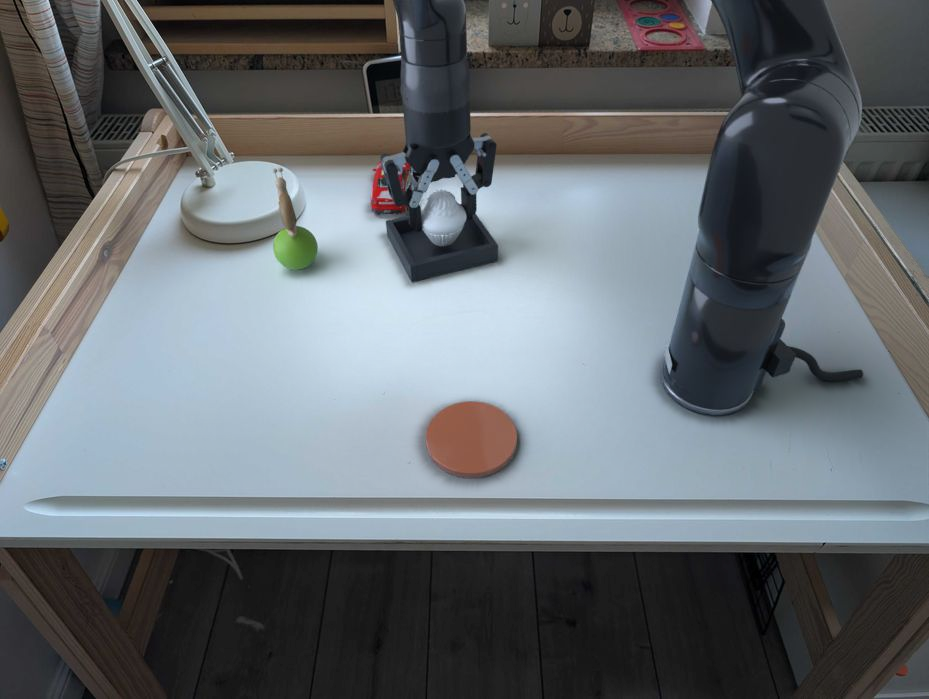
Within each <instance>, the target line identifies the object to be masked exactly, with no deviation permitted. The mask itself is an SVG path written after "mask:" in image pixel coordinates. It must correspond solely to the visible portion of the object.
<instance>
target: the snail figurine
mask: <svg viewBox="0 0 929 699" xmlns="http://www.w3.org/2000/svg"><path fill="white" fill-rule="evenodd" d="M283 171H284V169H283V167H278V168H273V169H272V173H274V175H275V178H276V180H275V181H274V183H275V187H276V189H277V196H278V210H279V214H280V218H281V222H282V224H283V226H284V228H283V229H281V230H280V231H279V232H278V233H277V234H276V236H275V237H274V240H273V245H272V250H273V254H274V256H275V259H276V260H277V262H278V263H279V264H280V265H282V266H283V267H285V268H287V269H289V270H294V271H295V270H296V271H297V270H303V269H305V268H307V267H309V266H310V265H312V264H313V262H314V261H315V260H316V257H317V255H318V251H319V246H318V245H319V244H318V242H317V239H316V237H315V235H314V234H313V233H312V232H311V231H310V230H309V229H308V228H306V227H304V226H300V225H297V222H298V219H297V216H296V213H295V212H296V211H295V209H294V206H293V202H292V198H291V196H290V194H289V192H288V189H287V182H286V180H285V179H284V178H283V174H282V172H283ZM278 172H279V173H280V175H281V176H279V177H278V176H277V173H278Z"/></svg>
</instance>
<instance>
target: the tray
mask: <svg viewBox="0 0 929 699" xmlns="http://www.w3.org/2000/svg"><path fill="white" fill-rule="evenodd" d="M459 204H460V205H461V203H459ZM385 229H386V237H387V239H388V240H389V242H390V244H391V246H392V249H393V250H394V252H395V254H396V255H397V257H398V259H399V262H400V263H401V266H402V267H403V269H404V271H405V272H406V275H407V276H408V278H409V280H410V282H411V283H417V282H420V281H424V280H428V279H432V278H436V277H439V276H444V275H448V274H452V273H455V272H459V271H464V270H468V269H472V268H476V267H479V266H480V267H481V266H483V265H488V264H492V263H497V262H498V261H499V244H498V243H497V241H496V240H495V239H494V238H493V236H492V234H491V233H490V231H489V230H488V229H487V227H486V226H485V224H484V223H483V222H482V221H481V219H480V218H479V215H477V212H476V213H475V214H473V219H470V220H466V221H465V223H464V226H463V229H462V231H461V232H460V234H459V236H458V237H457V239H456V241H455V242H454V243H453V244H451V245H448V246H437V245H435V244H433V243H432V242H431V240H430V239H429V238H428V236H427V235H426V234H425V232H424V231H423V229H422V231H419V232H416V230H415V229H414V228H413V229H412V227H411V226H410V224H409V222H408V221H407V215H405V216H399V217H396V218H392V219H387V220H385Z"/></svg>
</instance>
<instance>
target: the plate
mask: <svg viewBox="0 0 929 699" xmlns="http://www.w3.org/2000/svg"><path fill="white" fill-rule="evenodd" d="M517 445H518V431H517V429H516V425H515V424H514V422H513V420H512V419H511V418H510V416H509V415H508V414H507V413H506V412H504V411H503V410H502V409H501V408H499V407H497V406H495V405H493V404H490V403H486V402H483V401H475V400H474V401H461V402H456V403H453V404H450V405H448V406H446V407H445V408H443V409H441V410H440V411H438V412H437V413H435V415H434V416H433V417H432V419H431V420H430V421H429V423H428V425H427V428H426V432H425V447H426V451H427V454H428V455H429V458H430V459H431V461H432V462H433V463H434V464H435V465H436V466H437V467H438V468H440V469H441V470H442V471H444V472H445V473H447V474H449V475H453V476H456V477H460V478H466V479H467V478H469V479H476V478H484V477H487V476H490V475H493V474H495V473H497V472H498V471H500V470H502V469H503V468H505V467H506V466H507V465H508V464H509V463H510V461H511V460H512V459H513V457H514V455H515V454H516V450H517Z"/></svg>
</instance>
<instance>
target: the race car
mask: <svg viewBox="0 0 929 699" xmlns="http://www.w3.org/2000/svg"><path fill="white" fill-rule="evenodd" d="M411 169H412V167H411V166H410V165H409V164H408V163H405V164H404V165H403V170H402V173H401V174H400V175H398V176H399V180H400V184H401V188H402V190H403V191H405V189H406V186H407V184H408V181H409V174H410V171H411ZM371 170H372V172H374V176H373V181H372V188H371V192H370V208H371V212H372V213H373V214H375V215H377V216H378V215H379V216H381V215H384V216H385V215H400V214H404V213H406V205H402V206H400V207H398V206H396V205H395V203H394V201H393V200H392V198H391V196H390V195H389V191H388V187H387V183H386V179H385V176H384V172H383V168H382V164H381V160H380V161H379V162H377V163H376V164H375V168H372V169H371Z"/></svg>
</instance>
